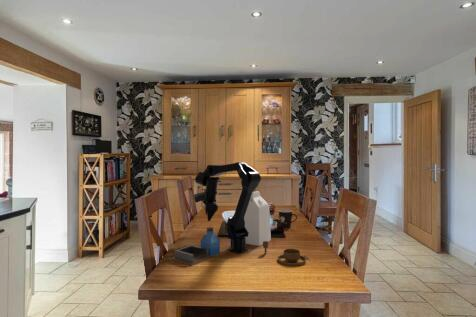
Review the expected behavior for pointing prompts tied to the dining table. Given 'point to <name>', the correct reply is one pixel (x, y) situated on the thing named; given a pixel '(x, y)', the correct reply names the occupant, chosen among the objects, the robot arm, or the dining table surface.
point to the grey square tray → (191, 255)
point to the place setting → (289, 256)
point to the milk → (257, 220)
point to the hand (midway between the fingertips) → (207, 217)
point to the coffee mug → (286, 218)
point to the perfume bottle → (211, 242)
